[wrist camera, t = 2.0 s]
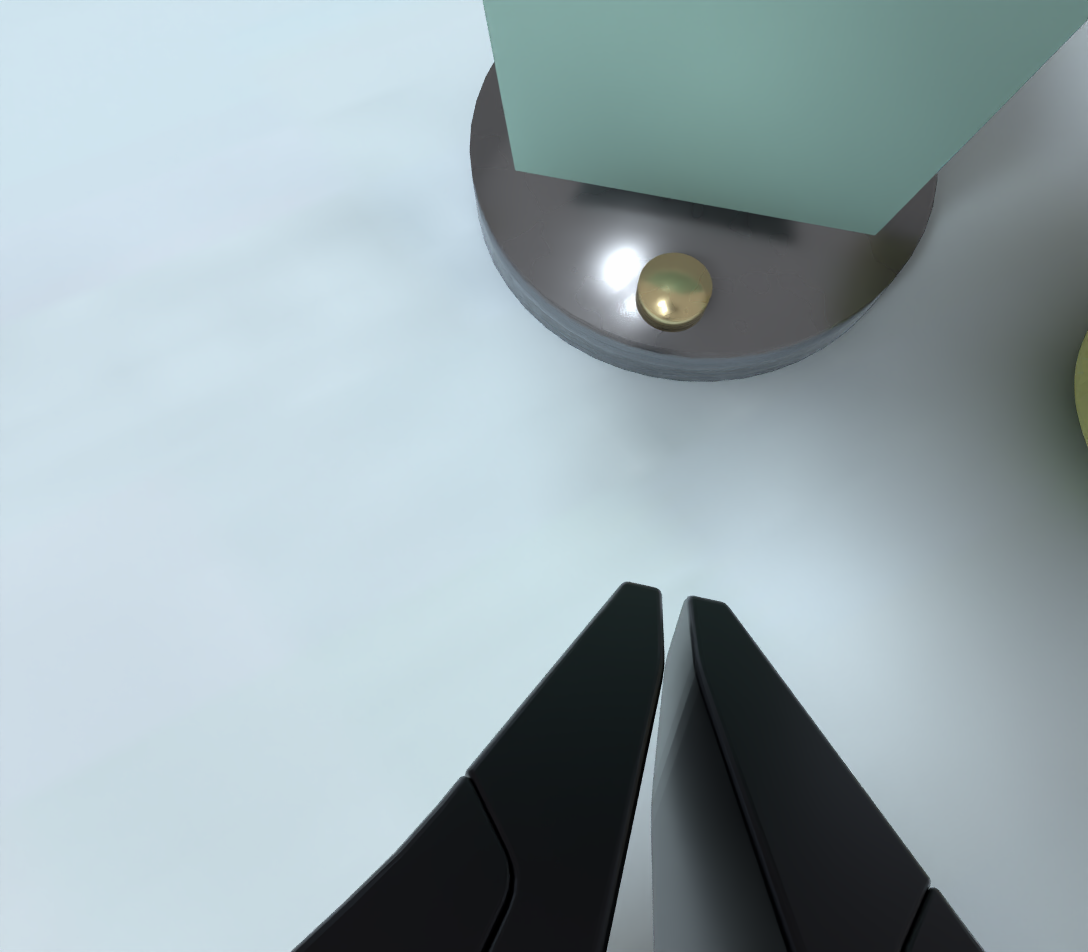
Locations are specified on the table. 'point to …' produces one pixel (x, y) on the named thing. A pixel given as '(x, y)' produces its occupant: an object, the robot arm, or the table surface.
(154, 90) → the table surface
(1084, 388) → the cell model
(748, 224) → the dark grey disc
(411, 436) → the table surface
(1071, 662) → the table surface
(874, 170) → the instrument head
